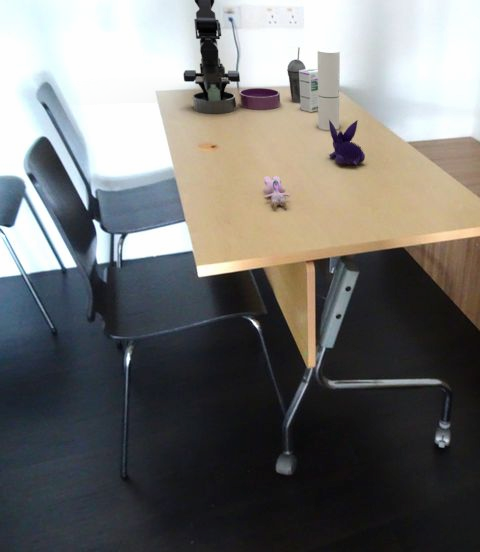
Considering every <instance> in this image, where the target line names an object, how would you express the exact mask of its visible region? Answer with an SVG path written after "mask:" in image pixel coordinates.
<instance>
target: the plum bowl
mask: <svg viewBox="0 0 480 552" xmlns="http://www.w3.org/2000/svg"><path fill="white" fill-rule="evenodd" d="M238 94H239V105H240V107H241V108H243V109H246V110H253V111H268V110H275V109H278V108H279V107H281V93H280V91H279V90H277V89H273V88H266V87H252V88H244V89H242V90H240V91H239V93H238Z"/></svg>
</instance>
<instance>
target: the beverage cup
mask: <svg viewBox="0 0 480 552" xmlns="http://www.w3.org/2000/svg"><path fill="white" fill-rule="evenodd" d="M297 47H298V48H297V58H296V59H292V60H291V61H290V62H288V65H287V70H286V72H287V76H288V81H289V82H288V83H289V89H290V97H291V102H292V103H297V104H299V103H300V82H299V70H304V69H307V68H306V65H305V64H304V62H303V61H302V60H300V49H301V48H300V47H299V46H297Z"/></svg>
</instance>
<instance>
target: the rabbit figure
mask: <svg viewBox="0 0 480 552" xmlns="http://www.w3.org/2000/svg"><path fill="white" fill-rule="evenodd" d="M263 183H264V184H265V188H264V193H265V195H264V197H263V198H264V199H267V198H270V203H271V206H272V207H273V210H275V209H277V207H278V206H281V207H282V208H283V209H284V208H285V210H286V209H287V208H288V206H287V200H286V197H288V198H289V197H290V196H291V194H289V193H286V188H285V187H284V186H283V185H282V179H281V177H280V176H279V175H273V176H272V178H271V177H270V176H264V178H263Z"/></svg>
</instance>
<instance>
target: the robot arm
mask: <svg viewBox="0 0 480 552" xmlns="http://www.w3.org/2000/svg"><path fill="white" fill-rule="evenodd" d="M194 3H195V4H196V6H197V8H198V10H196V12H195V18H194V19H193V21H194V31H195V39H196V40H199V46H200V47H199V52H200V56H201V59H200V63H199V69H200V72H197V71H196V70H194V69H193V70H192V69H185V70H184V72H183V73H182V74H183V81H184V82H186V83H191V82H193V83H195V85H198V86H199V87H200V89H201V90H202V92H204V95H205V97H206V99H207V100H208V93H207V90H209V88H210V87H211V86H210V81H215V82H216V87H217V88H218V90H220V91H221V100H223V95H224V92H226V91H225V90H226V87H227V85H230V84H231V83H240V82H241V77H240V72H239V71H238V70H227V73H226V67H225V66H224V65H223V63H221V58H220V57H219V47H218V45H219V44H218V40H221V37H222V28H221V27H222V26H221V22H220V20H219V19H217V18H216V12H214V11H213V7H214V4H215V0H194Z"/></svg>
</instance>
